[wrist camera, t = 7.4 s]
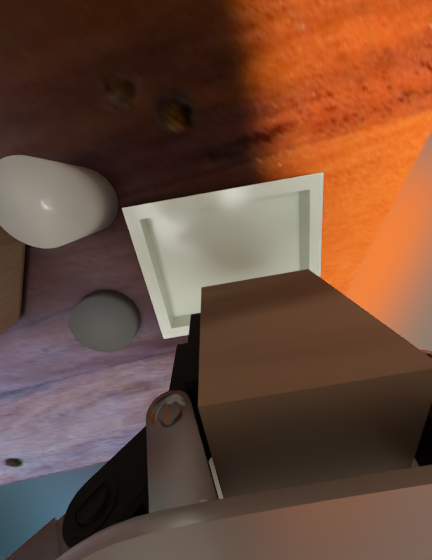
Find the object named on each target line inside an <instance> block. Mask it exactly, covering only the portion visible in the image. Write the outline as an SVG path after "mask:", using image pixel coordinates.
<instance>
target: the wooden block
mask: <svg viewBox="0 0 432 560" xmlns="http://www.w3.org/2000/svg"><path fill="white" fill-rule="evenodd" d="M25 245H26V244H25V243H23V242H21V241H19V240H17V239H16V238H14V237H13V236H11V235H10V234H9V233H8V232H6V231H5V230H4V229H3V228H2V227H1V226H0V334H1V333H3V332H4V331H5V330H7V329H8V328H10V327H11V326H12V325H14V324H15V323H16V321H17V320H18V318H19V316H20V314H21V302H22V288H23V273H24V259H25Z"/></svg>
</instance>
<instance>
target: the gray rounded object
mask: <svg viewBox="0 0 432 560" xmlns="http://www.w3.org/2000/svg"><path fill="white" fill-rule="evenodd" d="M139 324H140V314H139V311H138V309H137V307H136V305H135V304H134V303H133V302H132V301H131V300H130V299H129V298H128V297H126V296H124V295H122V294H120V293H118V292H114V291H108V290H102V291H97V292H94V293H91V294H89V295H88V296H87V297H85V298H84V299H83V300H82V301H81V302H80V303H79V304H78V305H77V306H76V307H75V308H74V309H73V310H72V312H71V314H70V317H69V326H70V329H71V331H72V333H73V335H74V336H75V338H76V339H77V340H78V341H79V342H80V343H82V344H83V345H85V346H86V347H88V348H90V349H93V350H96V351H101V352H113V351H118V350H120V349H123V348H124V347H126V346H127V345H128V344H130V342H131V341H132V340H133V338H134V336H135V333H136V331H137V329H138V327H139Z"/></svg>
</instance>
